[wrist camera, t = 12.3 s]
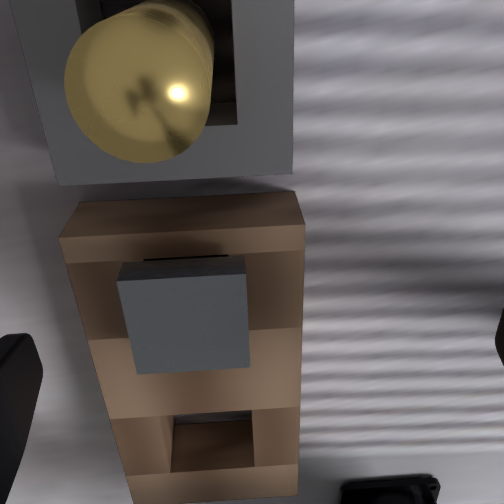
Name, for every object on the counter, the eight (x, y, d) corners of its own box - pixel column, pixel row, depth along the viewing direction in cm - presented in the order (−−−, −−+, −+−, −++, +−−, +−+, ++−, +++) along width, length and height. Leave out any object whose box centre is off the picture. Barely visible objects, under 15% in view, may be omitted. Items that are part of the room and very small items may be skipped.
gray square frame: (283, -104, 15) (295, -118, 12) (283, 145, 19) (292, 173, 16) (23, -95, 14) (-20, -108, 12) (81, 156, 19) (58, 186, 16)
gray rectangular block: (241, 213, 20) (246, 273, 16) (245, 296, 22) (250, 367, 18) (137, 219, 20) (116, 281, 16) (152, 302, 22) (137, 374, 18)
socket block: (294, 191, 20) (305, 224, 17) (290, 448, 29) (297, 495, 26) (79, 202, 20) (58, 237, 17) (142, 458, 28) (134, 507, 26)
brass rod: (211, -8, 16) (204, 11, 9) (217, 84, 18) (215, 160, 11) (122, -5, 16) (47, 18, 9) (136, 88, 17) (81, 166, 11)
